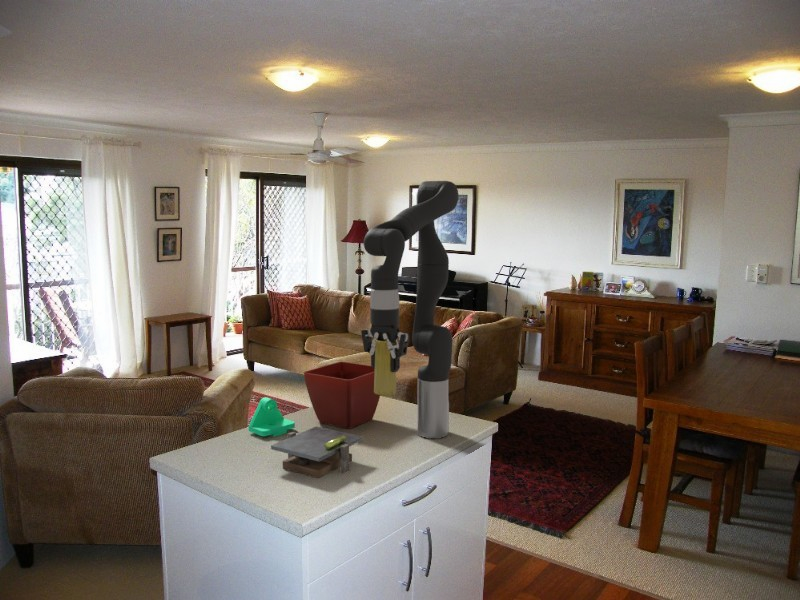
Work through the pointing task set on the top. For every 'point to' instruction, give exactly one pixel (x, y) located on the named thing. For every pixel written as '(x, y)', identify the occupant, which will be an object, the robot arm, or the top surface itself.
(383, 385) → the vase
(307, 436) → the tilt plate
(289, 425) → the camera mount
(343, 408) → the plant pot
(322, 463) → the levelling stand
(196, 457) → the top surface
